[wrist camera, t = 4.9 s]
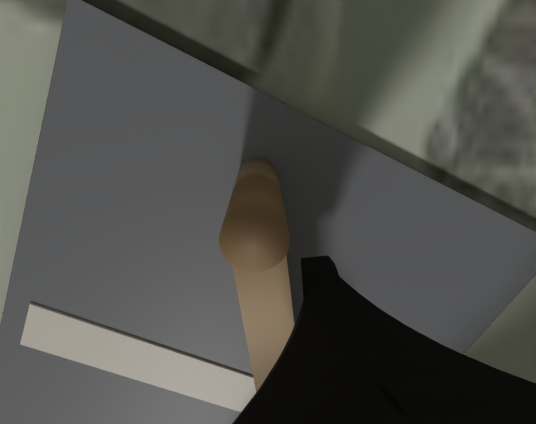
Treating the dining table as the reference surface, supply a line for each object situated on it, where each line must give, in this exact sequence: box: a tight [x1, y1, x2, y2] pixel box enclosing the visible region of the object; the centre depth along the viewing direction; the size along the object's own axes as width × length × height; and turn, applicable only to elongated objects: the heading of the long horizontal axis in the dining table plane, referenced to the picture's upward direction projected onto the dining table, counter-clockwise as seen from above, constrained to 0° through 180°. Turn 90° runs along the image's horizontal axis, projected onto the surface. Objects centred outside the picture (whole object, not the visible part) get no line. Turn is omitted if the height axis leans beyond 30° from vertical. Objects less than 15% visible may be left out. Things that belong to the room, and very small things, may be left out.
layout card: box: [0, 0, 536, 424], centre depth 15 cm, size 20×26×1 cm
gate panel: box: [219, 157, 294, 392], centre depth 10 cm, size 12×1×5 cm, turn 7°
